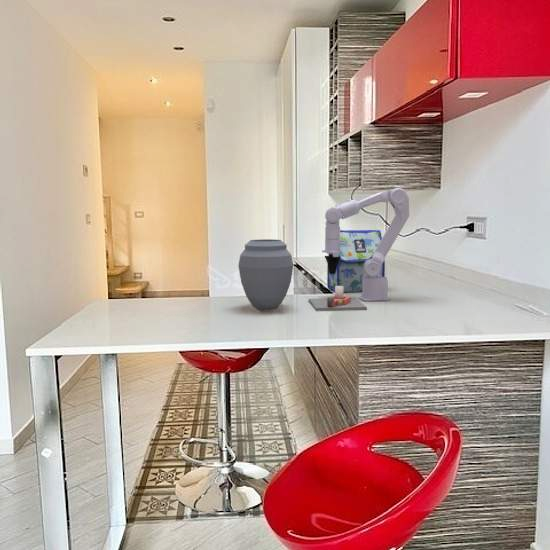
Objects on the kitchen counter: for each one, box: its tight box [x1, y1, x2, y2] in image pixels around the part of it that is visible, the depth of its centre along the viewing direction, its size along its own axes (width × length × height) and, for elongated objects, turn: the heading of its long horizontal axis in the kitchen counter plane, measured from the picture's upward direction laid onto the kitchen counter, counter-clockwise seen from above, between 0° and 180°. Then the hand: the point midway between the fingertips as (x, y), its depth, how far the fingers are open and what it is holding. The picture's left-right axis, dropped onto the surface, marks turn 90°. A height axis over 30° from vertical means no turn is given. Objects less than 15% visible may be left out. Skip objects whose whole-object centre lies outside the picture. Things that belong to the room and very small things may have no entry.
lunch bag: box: [326, 229, 386, 293], centre depth 229 cm, size 22×17×26 cm
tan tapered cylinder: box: [337, 300, 342, 306], centre depth 190 cm, size 2×2×2 cm
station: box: [308, 286, 368, 312], centre depth 196 cm, size 18×19×7 cm
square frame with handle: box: [327, 295, 352, 307], centre depth 193 cm, size 14×7×3 cm, turn 154°
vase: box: [238, 239, 294, 311], centre depth 190 cm, size 20×20×24 cm
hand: (332, 273), depth 209 cm, fingers closed
